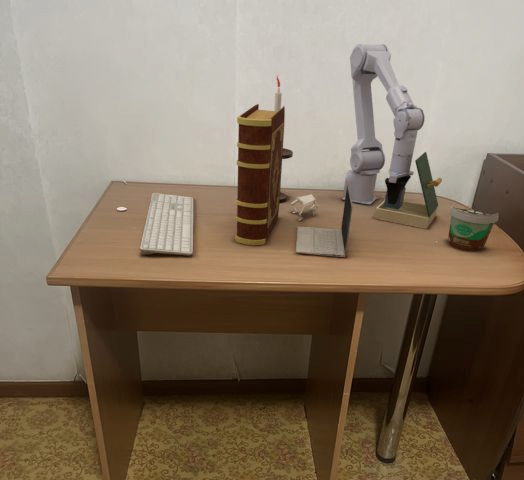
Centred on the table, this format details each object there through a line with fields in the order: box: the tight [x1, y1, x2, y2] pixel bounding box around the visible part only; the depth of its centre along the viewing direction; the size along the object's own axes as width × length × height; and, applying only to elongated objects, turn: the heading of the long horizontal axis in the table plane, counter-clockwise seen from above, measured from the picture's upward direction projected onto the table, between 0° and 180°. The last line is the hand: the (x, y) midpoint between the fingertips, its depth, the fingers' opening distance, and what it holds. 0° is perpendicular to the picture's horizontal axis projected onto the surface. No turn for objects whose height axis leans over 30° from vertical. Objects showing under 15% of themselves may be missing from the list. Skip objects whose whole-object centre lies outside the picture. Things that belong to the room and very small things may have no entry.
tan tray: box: [373, 199, 438, 230], centre depth 155 cm, size 16×12×3 cm
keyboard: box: [139, 192, 194, 257], centre depth 142 cm, size 44×12×2 cm, turn 6°
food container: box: [447, 203, 499, 252], centre depth 135 cm, size 12×6×10 cm, turn 62°
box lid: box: [414, 151, 443, 217], centre depth 148 cm, size 16×12×4 cm
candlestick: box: [273, 74, 294, 203], centre depth 157 cm, size 11×11×35 cm
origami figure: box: [289, 193, 319, 222], centre depth 152 cm, size 12×8×5 cm
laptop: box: [295, 185, 354, 258], centre depth 133 cm, size 18×12×13 cm
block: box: [384, 186, 407, 210], centre depth 155 cm, size 4×4×6 cm
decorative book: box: [234, 103, 286, 246], centre depth 134 cm, size 22×8×30 cm, turn 168°
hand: (393, 201), depth 155 cm, fingers closed on block, 4 cm apart
